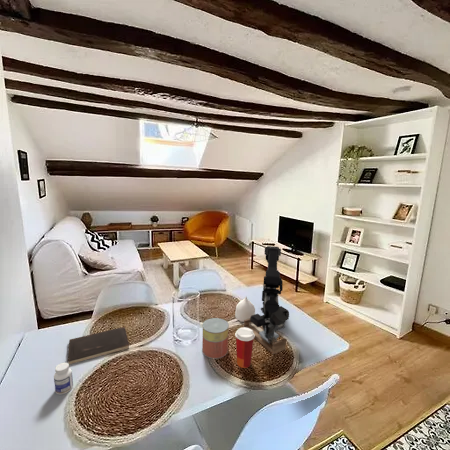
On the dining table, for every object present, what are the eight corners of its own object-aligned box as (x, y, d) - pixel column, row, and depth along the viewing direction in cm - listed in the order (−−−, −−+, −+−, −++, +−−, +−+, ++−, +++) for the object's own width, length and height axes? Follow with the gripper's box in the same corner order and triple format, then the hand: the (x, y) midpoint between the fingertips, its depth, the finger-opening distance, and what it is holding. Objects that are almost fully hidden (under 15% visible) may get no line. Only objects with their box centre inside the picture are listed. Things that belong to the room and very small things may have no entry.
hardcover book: (129, 349, 111) (129, 344, 111) (67, 366, 100) (67, 361, 100) (124, 330, 125) (124, 326, 124) (69, 343, 114) (69, 338, 113)
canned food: (210, 339, 119) (210, 315, 117) (232, 346, 114) (232, 322, 112) (197, 353, 109) (197, 327, 107) (220, 362, 104) (221, 335, 102)
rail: (243, 328, 128) (244, 320, 127) (254, 324, 132) (255, 316, 131) (273, 354, 110) (274, 344, 109) (285, 349, 113) (286, 339, 112)
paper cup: (253, 357, 107) (254, 327, 105) (253, 371, 100) (254, 338, 97) (234, 356, 108) (235, 325, 105) (233, 369, 100) (234, 337, 98)
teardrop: (242, 324, 132) (243, 302, 130) (231, 314, 141) (232, 294, 139) (259, 319, 137) (260, 298, 135) (247, 309, 147) (248, 290, 145)
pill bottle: (60, 383, 91) (58, 361, 90) (75, 382, 92) (74, 360, 90) (52, 395, 86) (49, 372, 85) (68, 394, 87) (66, 371, 85)
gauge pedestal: (265, 324, 132) (265, 315, 131) (275, 320, 136) (275, 312, 135) (274, 331, 126) (275, 322, 125) (285, 327, 130) (285, 318, 129)
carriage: (259, 337, 118) (259, 323, 117) (269, 333, 121) (270, 319, 120) (267, 344, 113) (268, 329, 112) (278, 340, 116) (279, 325, 115)
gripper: (266, 314, 102) (264, 349, 105) (299, 304, 112) (296, 336, 115) (250, 303, 112) (248, 335, 114) (281, 294, 121) (279, 324, 124)
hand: (268, 333), depth 117 cm, fingers closed on carriage, 3 cm apart
